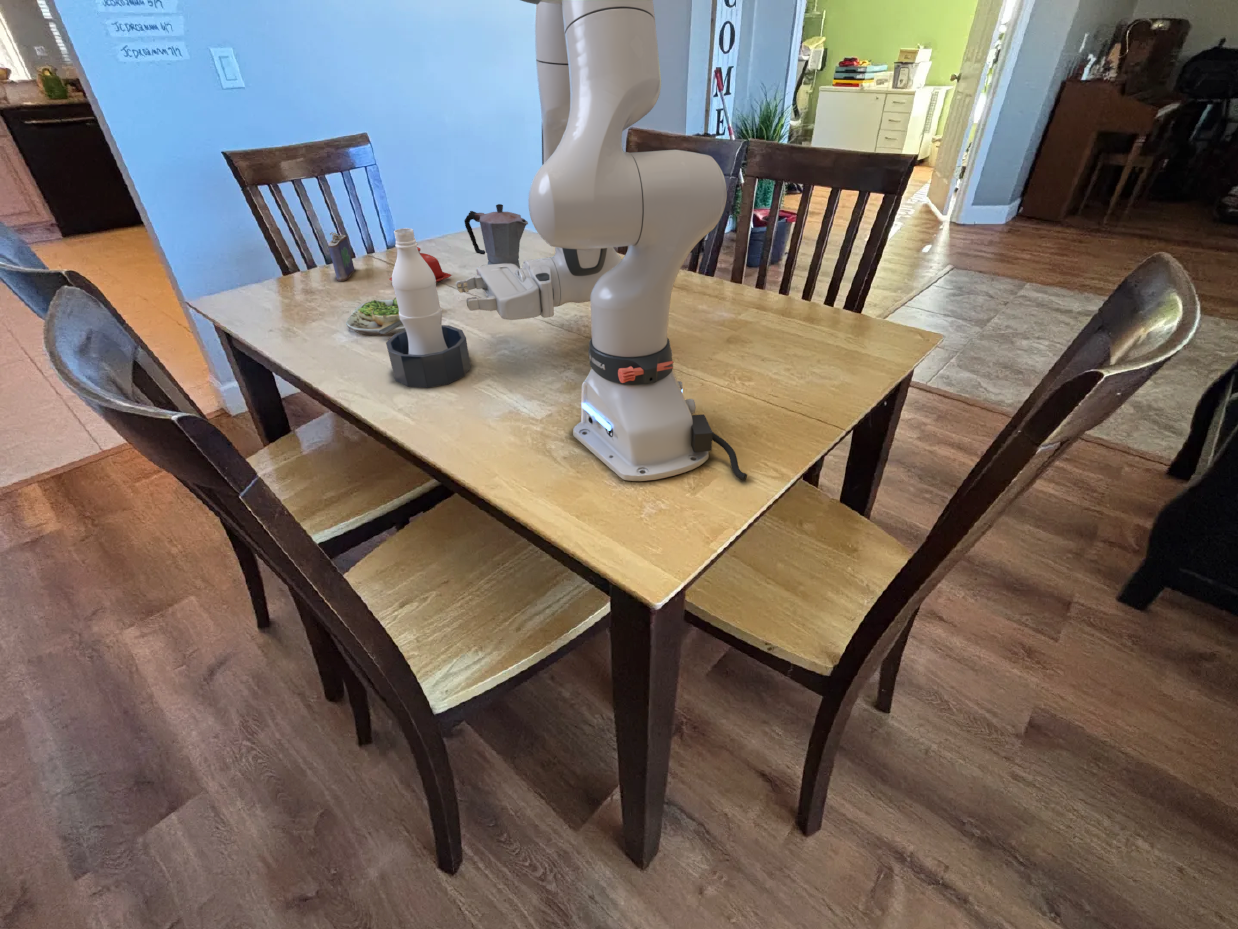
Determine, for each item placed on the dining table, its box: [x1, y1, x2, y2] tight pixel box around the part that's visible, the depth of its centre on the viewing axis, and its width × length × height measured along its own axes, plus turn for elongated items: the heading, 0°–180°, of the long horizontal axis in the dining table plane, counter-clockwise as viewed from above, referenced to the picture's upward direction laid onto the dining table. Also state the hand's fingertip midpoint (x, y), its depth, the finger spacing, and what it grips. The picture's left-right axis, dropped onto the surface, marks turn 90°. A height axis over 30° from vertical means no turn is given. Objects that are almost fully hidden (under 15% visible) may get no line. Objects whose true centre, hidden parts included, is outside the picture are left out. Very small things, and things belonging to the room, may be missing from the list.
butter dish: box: [388, 246, 452, 284], centre depth 152 cm, size 12×12×8 cm
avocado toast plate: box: [345, 297, 405, 336], centre depth 132 cm, size 19×18×5 cm
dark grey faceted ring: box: [385, 324, 472, 389], centre depth 114 cm, size 14×14×6 cm
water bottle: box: [391, 227, 448, 355], centre depth 108 cm, size 7×7×25 cm
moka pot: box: [463, 203, 529, 269], centre depth 142 cm, size 10×15×20 cm, turn 78°
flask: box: [327, 231, 356, 282], centre depth 156 cm, size 9×3×11 cm, turn 2°
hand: (462, 295), depth 110 cm, fingers open, 8 cm apart
